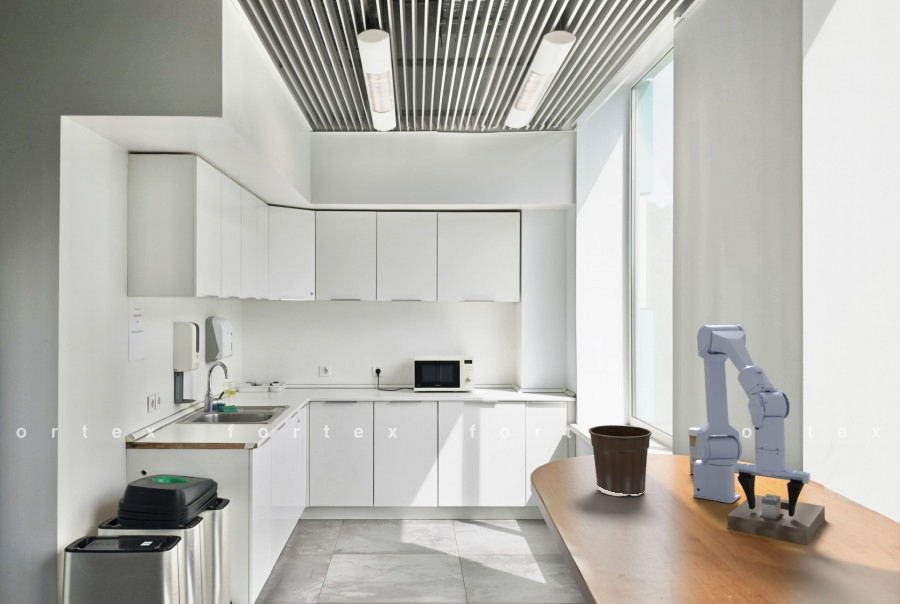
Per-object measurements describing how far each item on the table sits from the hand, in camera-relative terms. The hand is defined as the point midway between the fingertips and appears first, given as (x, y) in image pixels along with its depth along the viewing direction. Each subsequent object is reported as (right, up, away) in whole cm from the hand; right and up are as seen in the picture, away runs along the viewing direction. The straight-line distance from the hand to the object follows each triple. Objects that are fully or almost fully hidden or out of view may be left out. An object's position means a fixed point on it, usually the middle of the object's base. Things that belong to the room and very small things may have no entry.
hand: (771, 511), depth 130 cm
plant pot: (-24, -5, +30) cm, 39 cm away
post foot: (+3, -4, +3) cm, 6 cm away
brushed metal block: (0, -4, 0) cm, 4 cm away
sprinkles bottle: (+3, -6, +47) cm, 47 cm away
